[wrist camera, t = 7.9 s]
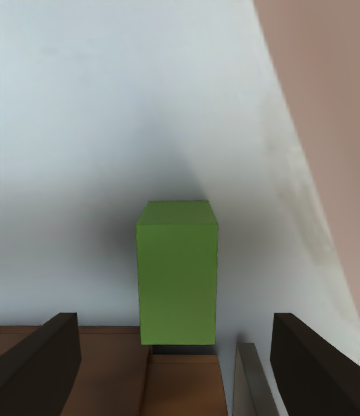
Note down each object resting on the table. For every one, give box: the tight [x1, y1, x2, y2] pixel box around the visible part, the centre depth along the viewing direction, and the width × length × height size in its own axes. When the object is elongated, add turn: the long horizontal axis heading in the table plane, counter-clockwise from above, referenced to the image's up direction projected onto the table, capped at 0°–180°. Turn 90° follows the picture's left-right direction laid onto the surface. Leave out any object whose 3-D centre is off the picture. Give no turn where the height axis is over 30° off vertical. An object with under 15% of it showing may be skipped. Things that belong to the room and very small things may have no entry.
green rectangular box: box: [136, 201, 218, 345], centre depth 16 cm, size 6×4×5 cm, turn 0°
